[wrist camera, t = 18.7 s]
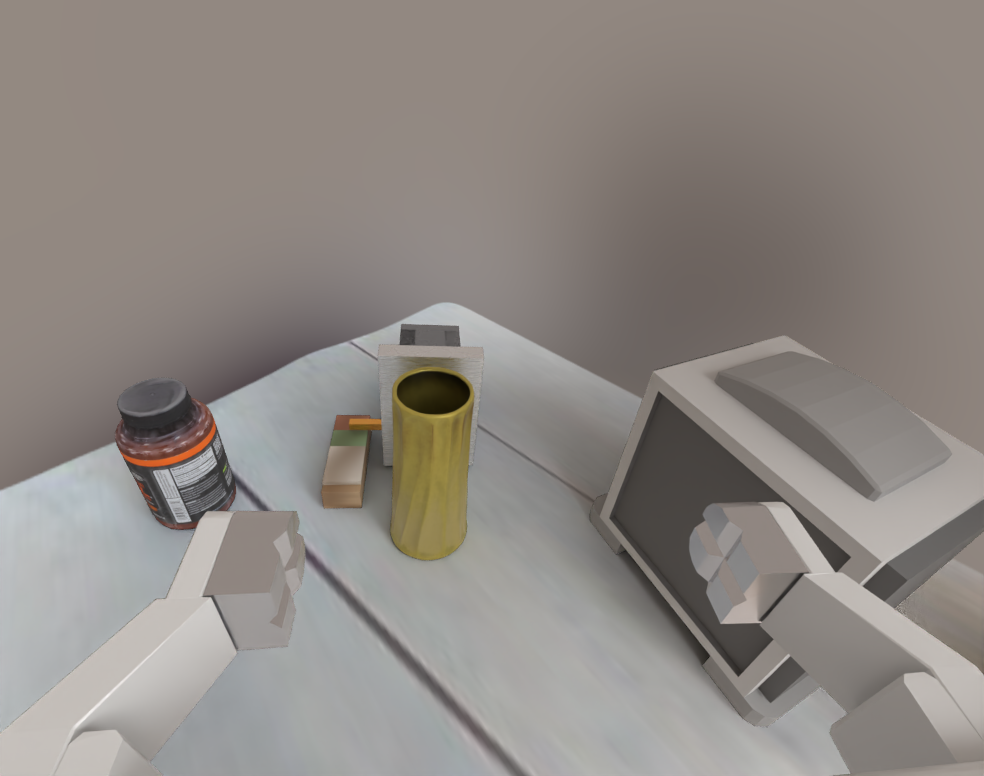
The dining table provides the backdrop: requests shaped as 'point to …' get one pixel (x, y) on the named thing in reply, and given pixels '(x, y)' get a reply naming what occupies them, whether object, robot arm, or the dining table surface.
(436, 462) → the vase
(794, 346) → the grey box
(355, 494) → the rail
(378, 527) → the dining table surface
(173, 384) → the supplement bottle
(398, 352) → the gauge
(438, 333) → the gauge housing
